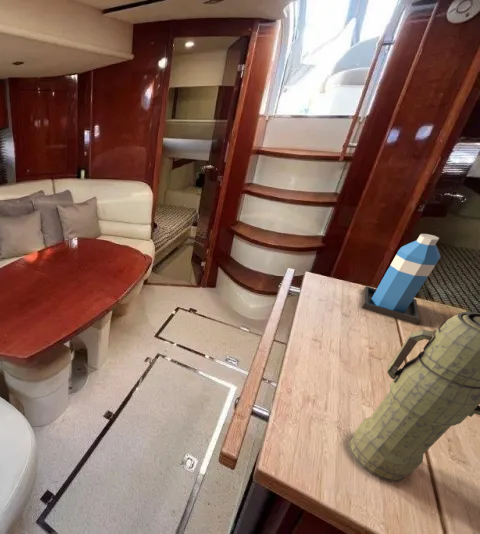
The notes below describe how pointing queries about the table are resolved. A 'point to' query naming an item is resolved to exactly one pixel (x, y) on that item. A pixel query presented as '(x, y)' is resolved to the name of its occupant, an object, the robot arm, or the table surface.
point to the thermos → (422, 399)
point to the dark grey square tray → (409, 315)
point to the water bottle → (407, 274)
